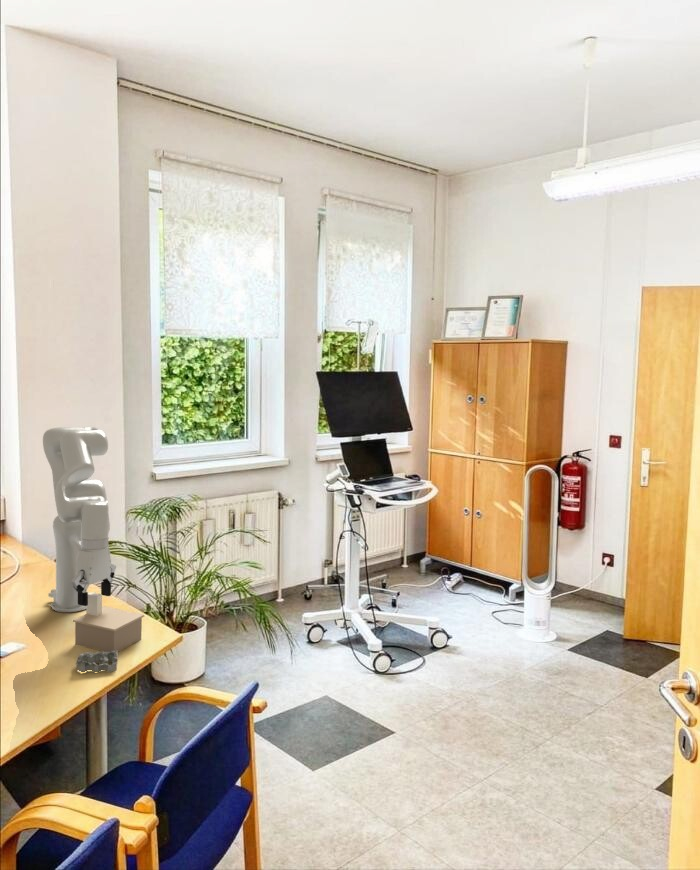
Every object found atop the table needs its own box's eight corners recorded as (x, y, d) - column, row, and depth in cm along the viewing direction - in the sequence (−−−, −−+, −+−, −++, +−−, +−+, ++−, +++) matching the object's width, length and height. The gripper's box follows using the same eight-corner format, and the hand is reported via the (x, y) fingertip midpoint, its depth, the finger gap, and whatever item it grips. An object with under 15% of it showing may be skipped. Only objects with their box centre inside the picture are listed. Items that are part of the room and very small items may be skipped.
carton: (75, 644, 206) (75, 622, 205) (103, 630, 217) (104, 609, 216) (114, 654, 200) (114, 631, 200) (141, 639, 212) (141, 617, 211)
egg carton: (74, 676, 187) (74, 661, 186) (78, 663, 194) (78, 649, 194) (116, 673, 189) (116, 658, 189) (119, 661, 197) (119, 647, 196)
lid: (72, 621, 205) (72, 599, 204) (103, 607, 217) (104, 586, 216) (114, 631, 199) (114, 608, 198) (144, 616, 211) (144, 595, 210)
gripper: (104, 535, 217) (104, 590, 218) (62, 548, 201) (62, 607, 202) (124, 538, 214) (124, 593, 215) (83, 551, 198) (83, 611, 199)
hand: (94, 600), depth 209 cm, fingers open, 9 cm apart
